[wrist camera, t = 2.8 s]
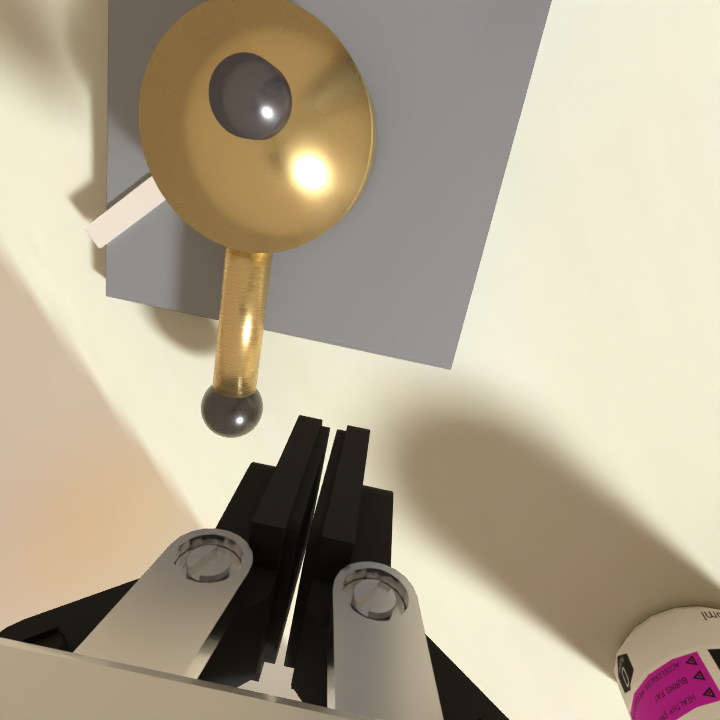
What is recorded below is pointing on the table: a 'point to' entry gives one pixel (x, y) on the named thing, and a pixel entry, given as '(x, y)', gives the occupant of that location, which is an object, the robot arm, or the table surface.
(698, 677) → the white soda can
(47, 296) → the table surface
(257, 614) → the robot arm
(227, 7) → the gold pan with handle
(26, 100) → the table surface
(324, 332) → the stand
